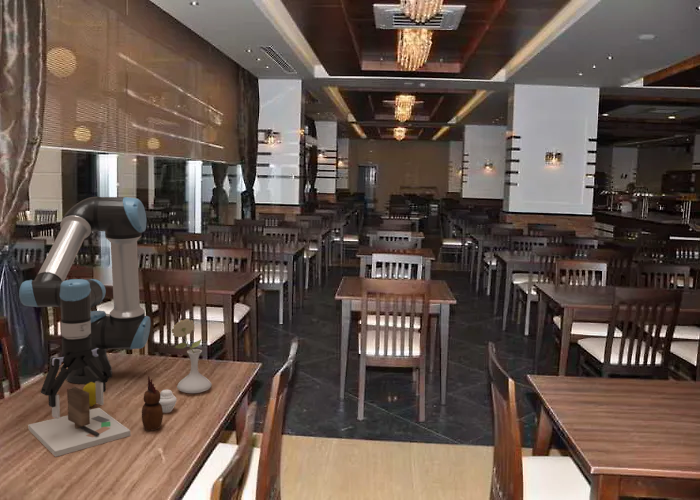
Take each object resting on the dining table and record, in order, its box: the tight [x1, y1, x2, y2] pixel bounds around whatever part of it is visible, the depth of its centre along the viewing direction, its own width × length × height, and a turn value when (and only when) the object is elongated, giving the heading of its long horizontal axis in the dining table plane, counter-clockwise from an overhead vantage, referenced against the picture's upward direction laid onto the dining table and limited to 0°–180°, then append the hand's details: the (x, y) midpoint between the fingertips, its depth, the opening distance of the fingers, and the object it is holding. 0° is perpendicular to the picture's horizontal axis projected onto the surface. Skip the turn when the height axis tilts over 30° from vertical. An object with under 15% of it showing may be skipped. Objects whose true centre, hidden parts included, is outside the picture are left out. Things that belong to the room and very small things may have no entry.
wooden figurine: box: [141, 375, 164, 431], centre depth 176 cm, size 7×6×15 cm
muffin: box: [159, 389, 178, 414], centre depth 189 cm, size 6×6×7 cm
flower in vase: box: [171, 318, 212, 394], centre depth 206 cm, size 13×11×25 cm
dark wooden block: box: [66, 386, 99, 436], centre depth 170 cm, size 2×13×10 cm, turn 54°
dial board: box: [27, 407, 132, 458], centre depth 173 cm, size 20×22×2 cm
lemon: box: [82, 382, 97, 408], centre depth 191 cm, size 6×6×8 cm
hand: (78, 410), depth 172 cm, fingers open, 12 cm apart
